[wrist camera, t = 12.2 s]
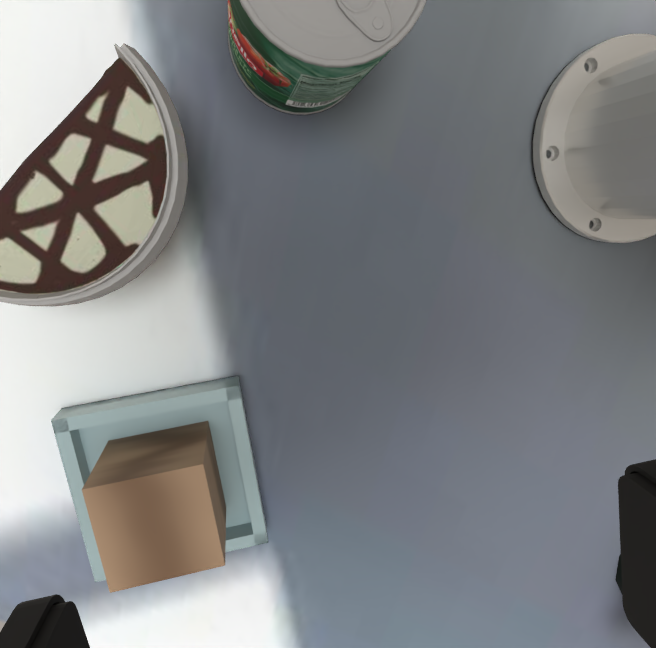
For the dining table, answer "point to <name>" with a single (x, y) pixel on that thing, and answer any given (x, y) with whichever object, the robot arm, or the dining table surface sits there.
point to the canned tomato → (313, 46)
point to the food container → (95, 193)
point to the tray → (158, 414)
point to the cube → (157, 506)
